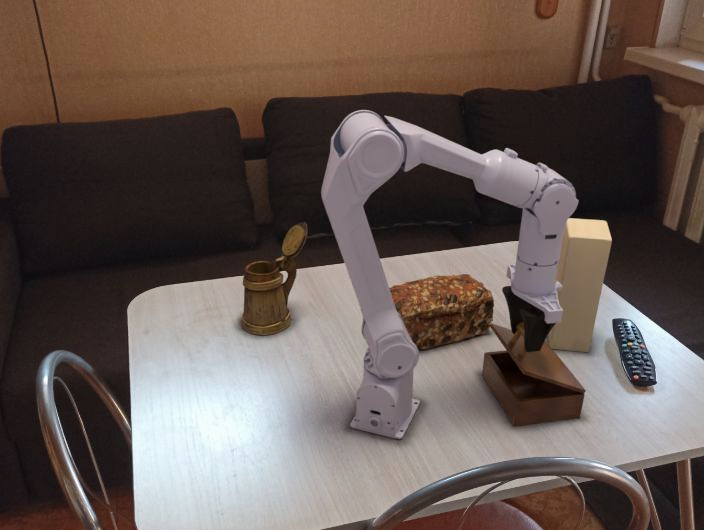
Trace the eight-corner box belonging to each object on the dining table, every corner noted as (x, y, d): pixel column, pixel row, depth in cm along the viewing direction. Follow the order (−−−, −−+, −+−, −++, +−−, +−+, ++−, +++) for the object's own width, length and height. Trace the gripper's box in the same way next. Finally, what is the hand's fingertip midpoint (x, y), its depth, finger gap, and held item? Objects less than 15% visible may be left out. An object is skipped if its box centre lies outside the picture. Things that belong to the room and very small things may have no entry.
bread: (399, 358, 118) (400, 306, 113) (372, 328, 126) (373, 279, 121) (493, 335, 124) (499, 285, 119) (462, 308, 132) (466, 260, 127)
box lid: (523, 374, 97) (538, 351, 96) (489, 325, 109) (502, 304, 107) (584, 393, 101) (599, 372, 100) (544, 345, 113) (558, 324, 111)
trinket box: (513, 426, 102) (516, 402, 100) (481, 374, 113) (484, 352, 111) (580, 417, 103) (584, 394, 101) (542, 367, 115) (545, 345, 113)
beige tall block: (593, 353, 118) (617, 239, 108) (549, 349, 119) (567, 236, 109) (589, 330, 125) (610, 220, 114) (547, 326, 126) (564, 217, 116)
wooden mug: (321, 321, 129) (318, 230, 120) (252, 340, 123) (244, 246, 114) (300, 300, 136) (296, 213, 126) (234, 318, 130) (225, 228, 121)
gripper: (590, 278, 91) (573, 365, 97) (543, 234, 103) (531, 314, 110) (538, 283, 89) (525, 370, 96) (497, 238, 102) (488, 319, 109)
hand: (525, 341), depth 103 cm, fingers closed on box lid, 4 cm apart
